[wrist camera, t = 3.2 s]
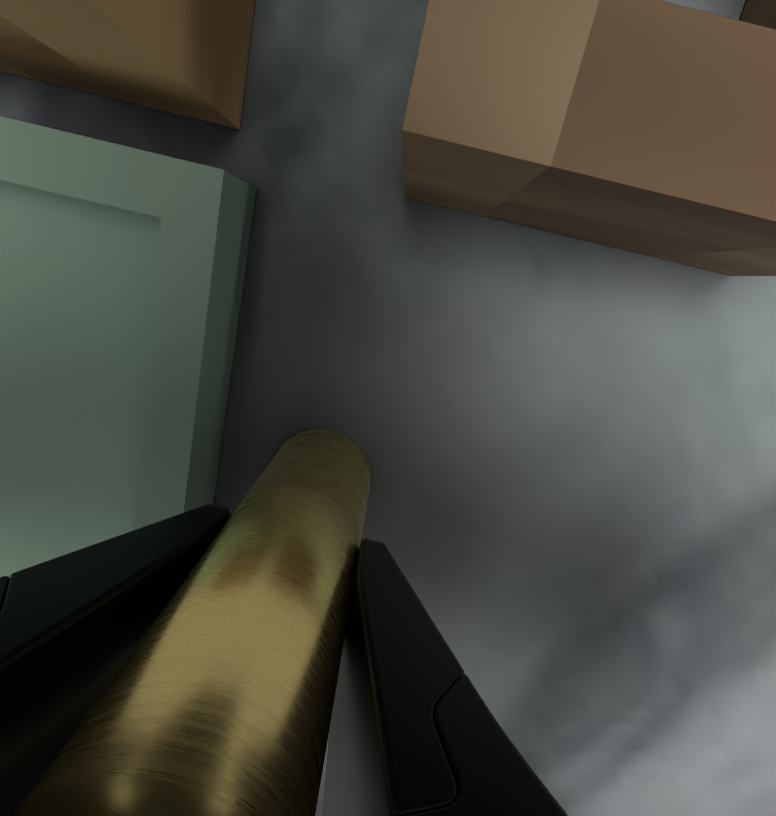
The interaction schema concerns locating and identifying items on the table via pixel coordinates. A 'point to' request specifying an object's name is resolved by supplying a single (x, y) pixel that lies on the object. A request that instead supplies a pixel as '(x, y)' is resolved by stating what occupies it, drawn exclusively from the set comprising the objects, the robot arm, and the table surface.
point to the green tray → (111, 336)
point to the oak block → (135, 51)
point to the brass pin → (232, 661)
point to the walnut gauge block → (602, 124)
